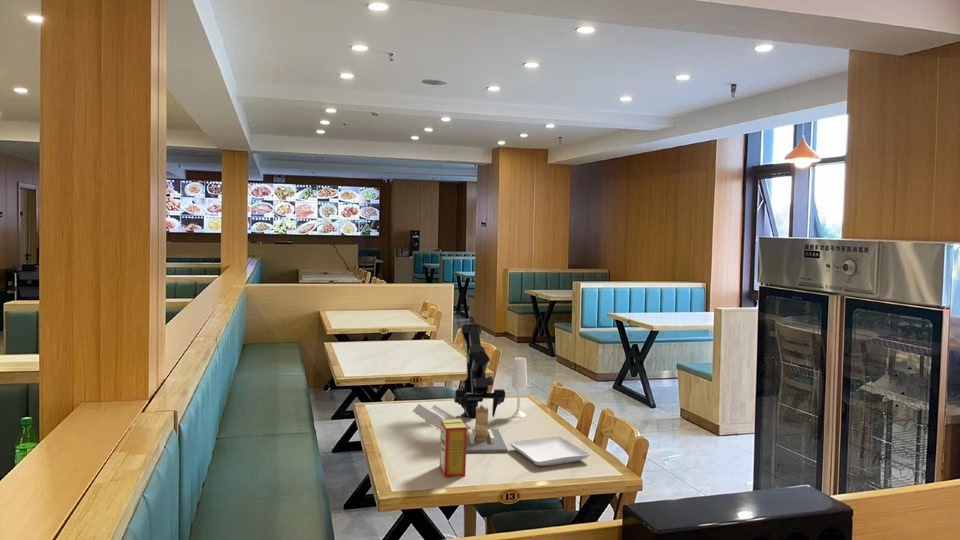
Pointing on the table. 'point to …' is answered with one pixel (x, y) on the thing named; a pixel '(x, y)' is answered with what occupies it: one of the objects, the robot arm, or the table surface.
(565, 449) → the salad plate
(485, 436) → the wooden board
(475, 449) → the groove board
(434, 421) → the crown molding
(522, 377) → the champagne flute
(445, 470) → the baking soda box
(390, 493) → the table surface
